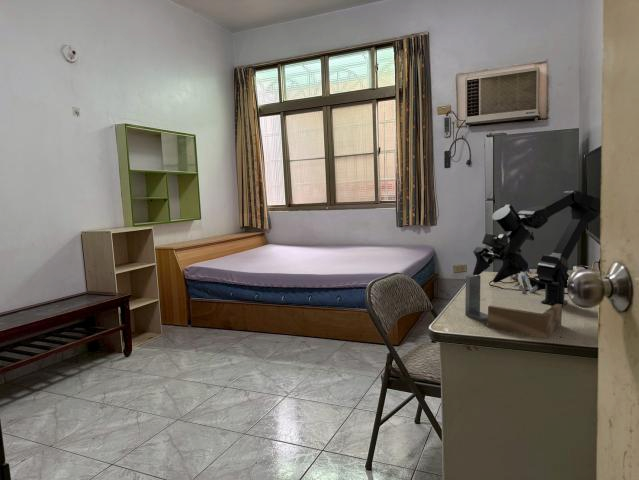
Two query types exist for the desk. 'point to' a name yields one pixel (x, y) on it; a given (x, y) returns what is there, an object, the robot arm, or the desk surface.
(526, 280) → the toy
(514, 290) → the desk surface
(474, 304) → the bracket
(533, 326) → the walls
